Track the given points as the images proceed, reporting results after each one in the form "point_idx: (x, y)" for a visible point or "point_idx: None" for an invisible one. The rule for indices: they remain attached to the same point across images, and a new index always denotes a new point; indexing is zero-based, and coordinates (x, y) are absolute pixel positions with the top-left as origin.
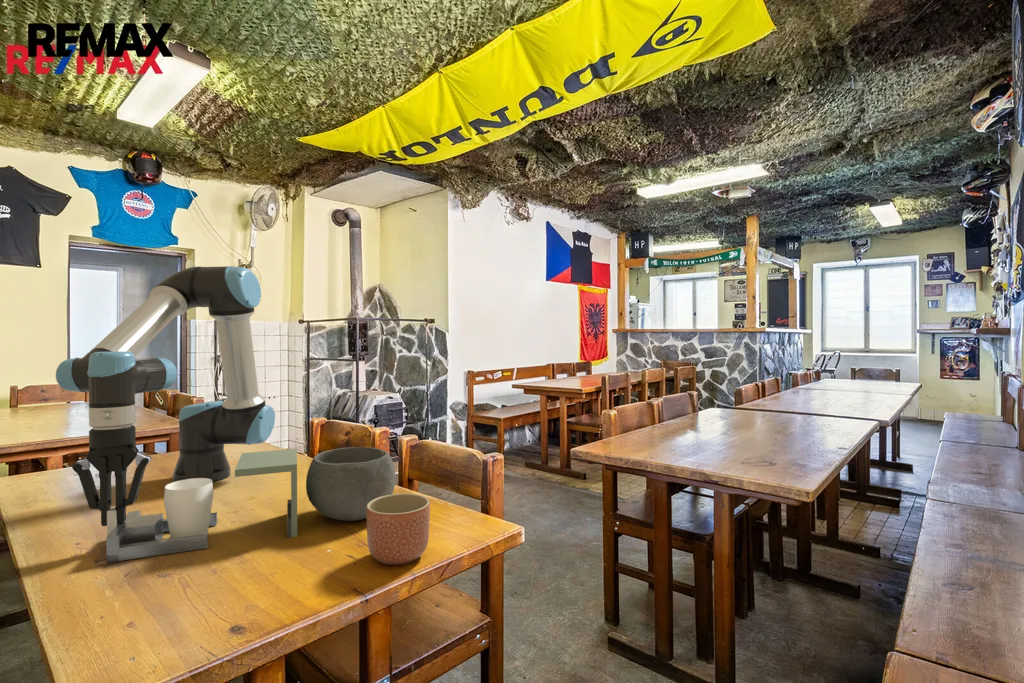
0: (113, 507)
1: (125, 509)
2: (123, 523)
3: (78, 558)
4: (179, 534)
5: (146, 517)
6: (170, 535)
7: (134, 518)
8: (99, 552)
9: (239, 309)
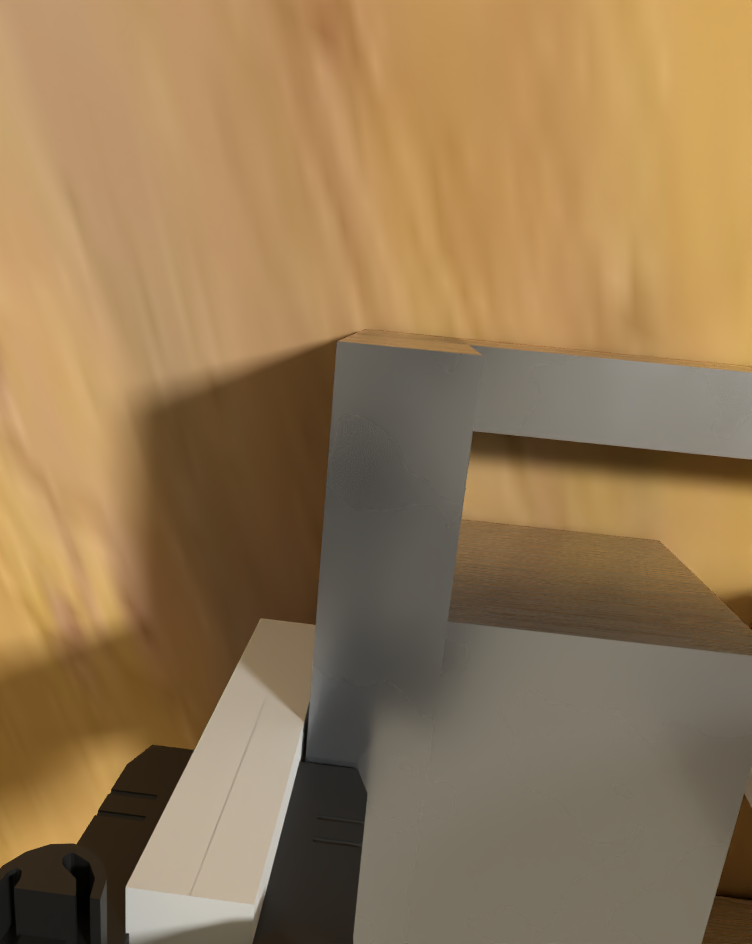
0: (165, 919)
1: (352, 934)
2: None
3: (106, 701)
4: None
5: (585, 728)
6: (745, 790)
7: (448, 695)
8: (217, 654)
9: None
